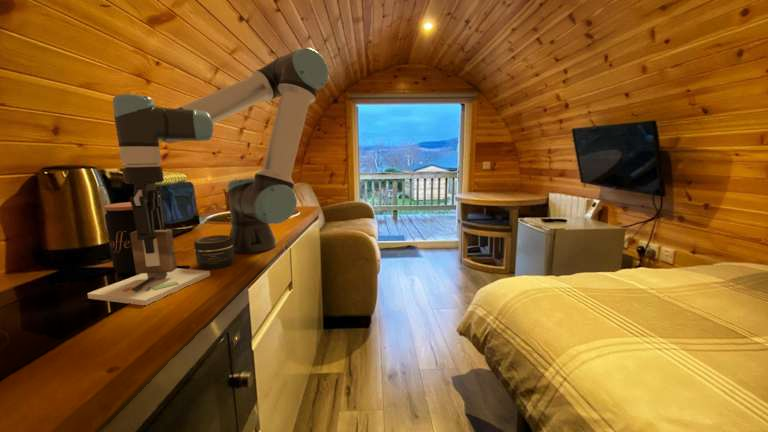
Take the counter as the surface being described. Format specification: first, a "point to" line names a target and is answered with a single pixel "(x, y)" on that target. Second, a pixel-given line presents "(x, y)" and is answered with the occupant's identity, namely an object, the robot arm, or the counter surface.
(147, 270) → the brown upright panel
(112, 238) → the coffee jar
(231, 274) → the counter surface
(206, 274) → the plate
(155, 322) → the counter surface
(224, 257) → the jar
